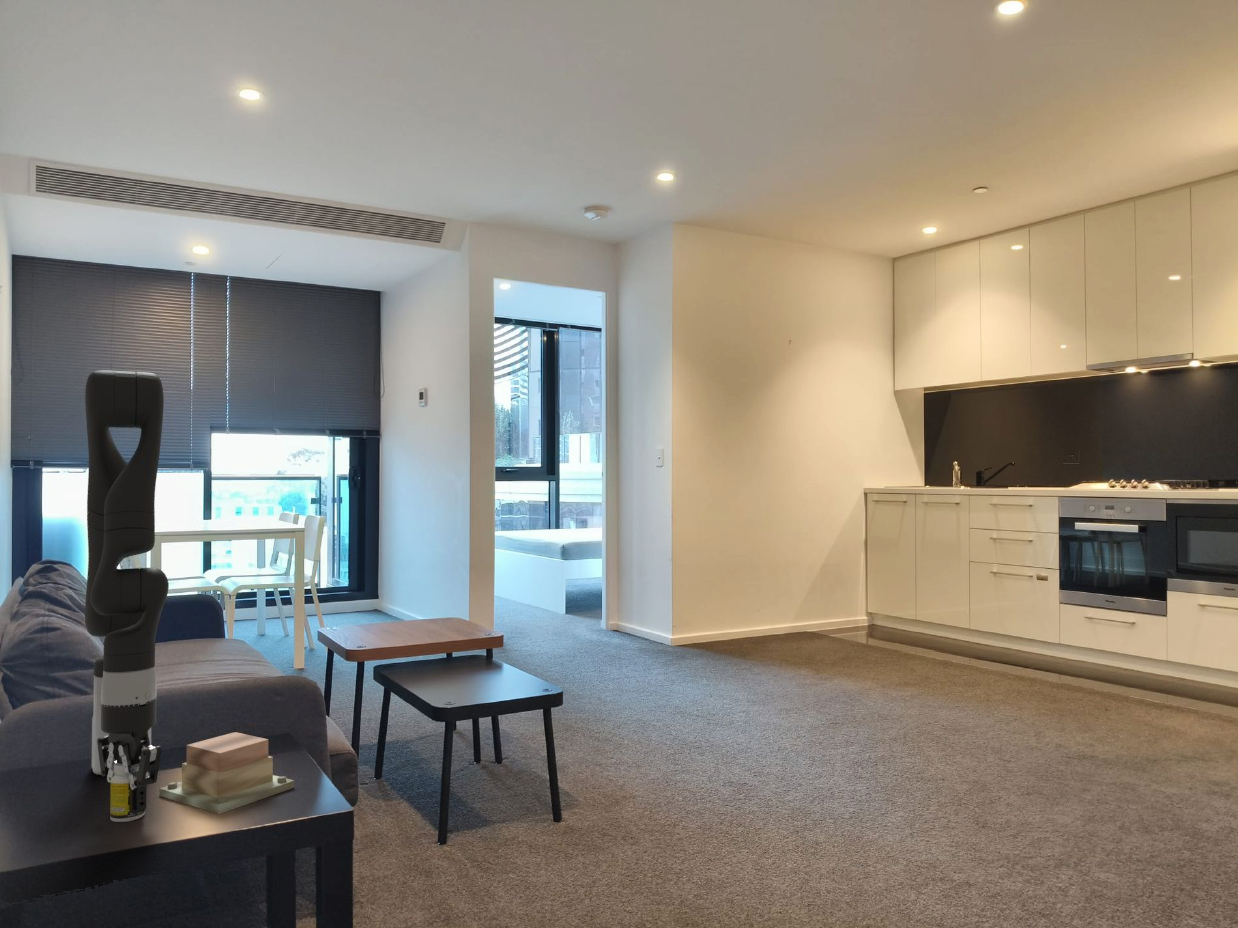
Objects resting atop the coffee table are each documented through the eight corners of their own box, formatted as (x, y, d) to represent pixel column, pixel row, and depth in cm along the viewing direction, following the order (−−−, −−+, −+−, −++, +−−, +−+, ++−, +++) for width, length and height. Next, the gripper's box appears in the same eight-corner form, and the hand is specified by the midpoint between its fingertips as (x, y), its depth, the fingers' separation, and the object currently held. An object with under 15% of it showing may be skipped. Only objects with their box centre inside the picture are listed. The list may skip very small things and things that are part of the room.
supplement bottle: (129, 823, 133) (130, 767, 133) (102, 821, 134) (103, 765, 134) (152, 812, 137) (152, 758, 138) (126, 810, 138) (126, 756, 139)
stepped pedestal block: (159, 795, 145) (159, 745, 145) (235, 771, 157) (235, 725, 157) (218, 813, 137) (219, 760, 137) (294, 787, 149) (294, 738, 149)
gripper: (79, 697, 137) (77, 807, 136) (131, 708, 129) (129, 825, 129) (127, 687, 143) (126, 793, 143) (179, 697, 136) (178, 809, 135)
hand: (128, 807), depth 136 cm, fingers closed on supplement bottle, 4 cm apart
